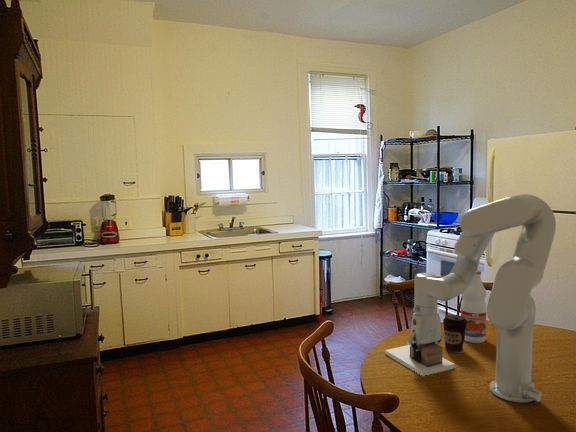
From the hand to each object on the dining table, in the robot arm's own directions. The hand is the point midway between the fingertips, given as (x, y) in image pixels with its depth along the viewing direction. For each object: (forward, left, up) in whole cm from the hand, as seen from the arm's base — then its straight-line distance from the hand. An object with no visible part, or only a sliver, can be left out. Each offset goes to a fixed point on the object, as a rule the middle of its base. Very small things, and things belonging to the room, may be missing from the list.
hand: (425, 358), depth 150 cm
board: (+3, 0, -2) cm, 4 cm away
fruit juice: (+9, -33, -2) cm, 34 cm away
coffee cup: (+4, -18, -2) cm, 19 cm away
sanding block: (0, 0, -1) cm, 1 cm away
